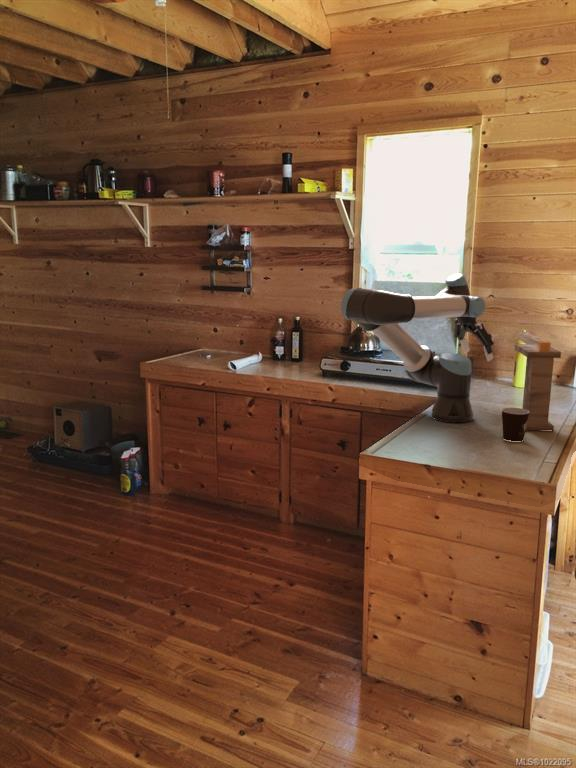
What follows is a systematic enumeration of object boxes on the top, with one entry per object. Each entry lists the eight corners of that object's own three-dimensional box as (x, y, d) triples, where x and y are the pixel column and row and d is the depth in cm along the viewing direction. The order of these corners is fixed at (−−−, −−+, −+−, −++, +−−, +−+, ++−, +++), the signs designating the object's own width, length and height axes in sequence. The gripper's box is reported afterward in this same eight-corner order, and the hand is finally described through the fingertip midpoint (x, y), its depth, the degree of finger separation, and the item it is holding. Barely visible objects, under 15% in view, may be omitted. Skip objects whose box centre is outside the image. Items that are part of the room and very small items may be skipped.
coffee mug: (513, 445, 213) (515, 415, 210) (494, 438, 220) (496, 409, 218) (539, 440, 218) (541, 411, 216) (519, 433, 225) (521, 405, 223)
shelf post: (553, 431, 228) (561, 352, 221) (521, 430, 228) (527, 351, 222) (539, 418, 243) (546, 344, 237) (509, 418, 244) (515, 344, 238)
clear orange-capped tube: (549, 352, 222) (550, 342, 221) (539, 351, 222) (539, 342, 221) (527, 340, 247) (528, 331, 246) (518, 339, 247) (518, 331, 246)
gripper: (494, 311, 248) (507, 357, 257) (450, 301, 269) (464, 344, 278) (480, 321, 245) (494, 367, 255) (437, 310, 267) (451, 353, 276)
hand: (478, 355), depth 267 cm, fingers open, 13 cm apart
